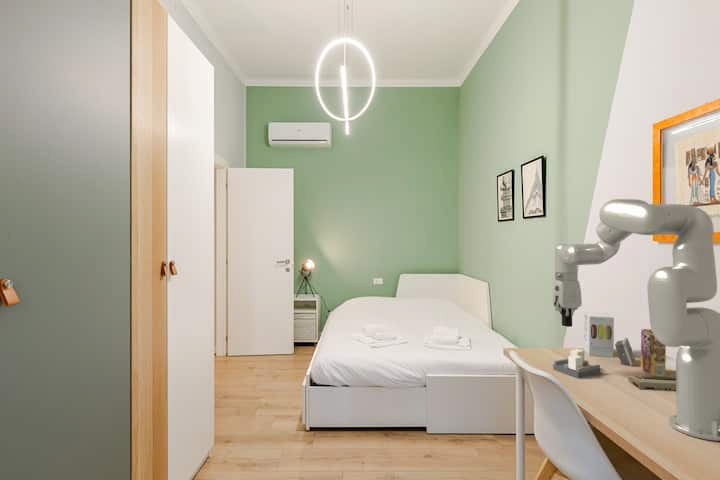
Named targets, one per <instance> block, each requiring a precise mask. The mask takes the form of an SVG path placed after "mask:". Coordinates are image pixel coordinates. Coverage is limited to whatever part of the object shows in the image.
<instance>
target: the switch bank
mask: <svg viewBox="0 0 720 480" xmlns="http://www.w3.org/2000/svg"><path fill="white" fill-rule="evenodd" d="M552 367H553V371H557V372H559V373H562V374H565V375H567V376H571V377H573V378H575V379H580V378H585V377H591V376H594V375H595V376H596V375H599V374H601V371H602V369H601V364H599V363H598V364H597V363H596V364H589V361H588V360H585V359H584V361H583V367H578V368H576V370H573V369H570V368H568V358H563V359H557V360H553V364H552Z"/></svg>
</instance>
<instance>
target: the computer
mask: <svg viewBox="0 0 720 480" xmlns="http://www.w3.org/2000/svg"><path fill="white" fill-rule="evenodd" d="M627 379H628V382H629V383H630V384H632V385H633V386H634V387H636V388H638V390H644V391H645V390H654V391H665V392H666V391H668V392H672V391H673V392H676V377H670V376H669V377H668V376H665V377H656V376H638V375H634V376H632V375H628V376H627Z"/></svg>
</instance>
